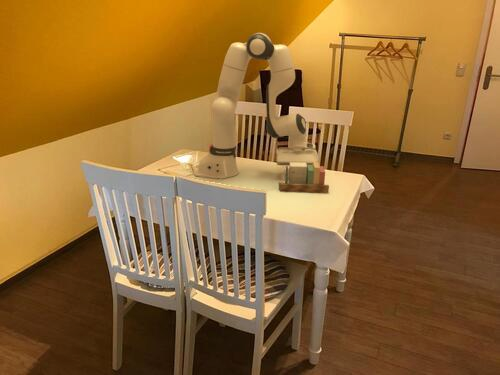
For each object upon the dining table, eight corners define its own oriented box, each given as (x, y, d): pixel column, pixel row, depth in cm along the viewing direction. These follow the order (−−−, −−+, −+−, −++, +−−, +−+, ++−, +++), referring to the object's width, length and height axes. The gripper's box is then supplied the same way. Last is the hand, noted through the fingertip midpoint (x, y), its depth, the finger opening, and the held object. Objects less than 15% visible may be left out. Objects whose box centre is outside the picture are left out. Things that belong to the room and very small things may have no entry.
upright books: (307, 191, 194) (308, 167, 189) (305, 184, 201) (307, 161, 197) (323, 191, 193) (325, 167, 189) (321, 185, 201) (323, 162, 197)
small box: (305, 183, 203) (306, 162, 199) (306, 187, 198) (307, 166, 194) (288, 182, 203) (289, 161, 199) (288, 187, 198) (290, 165, 194)
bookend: (278, 190, 194) (279, 171, 191) (278, 183, 202) (279, 165, 199) (287, 190, 194) (288, 172, 191) (287, 184, 202) (287, 166, 199)
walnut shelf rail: (279, 191, 193) (280, 184, 192) (279, 190, 194) (280, 183, 193) (328, 193, 192) (329, 186, 190) (328, 192, 193) (328, 184, 192)
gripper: (276, 144, 205) (275, 169, 200) (318, 145, 204) (319, 170, 199) (275, 150, 211) (275, 175, 205) (317, 151, 210) (317, 176, 204)
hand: (297, 173), depth 202 cm, fingers closed, pressing on small box
